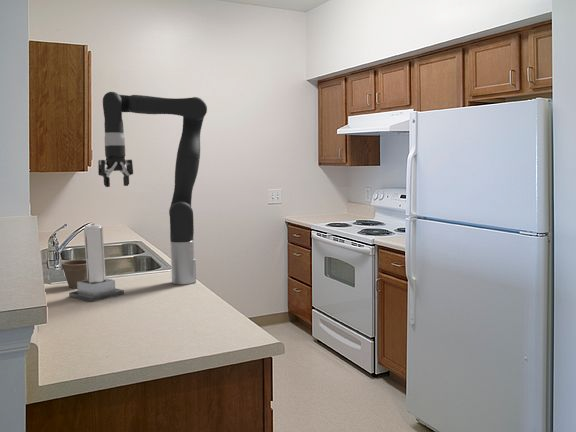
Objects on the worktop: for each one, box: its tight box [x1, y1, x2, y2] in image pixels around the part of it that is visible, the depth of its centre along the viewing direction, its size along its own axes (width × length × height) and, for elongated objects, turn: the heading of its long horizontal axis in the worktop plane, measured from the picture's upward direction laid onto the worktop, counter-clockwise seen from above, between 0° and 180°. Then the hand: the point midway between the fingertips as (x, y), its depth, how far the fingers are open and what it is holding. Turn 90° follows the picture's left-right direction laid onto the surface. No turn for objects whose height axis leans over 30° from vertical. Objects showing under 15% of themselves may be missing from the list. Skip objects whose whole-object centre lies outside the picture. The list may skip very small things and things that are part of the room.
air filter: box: [83, 224, 107, 284], centre depth 200 cm, size 6×6×25 cm
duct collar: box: [68, 277, 125, 303], centre depth 201 cm, size 14×14×6 cm
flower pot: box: [61, 259, 87, 289], centre depth 216 cm, size 12×11×10 cm
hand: (116, 186), depth 211 cm, fingers open, 8 cm apart
